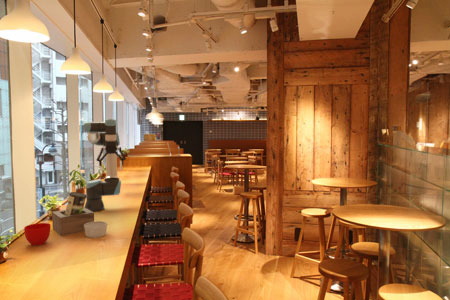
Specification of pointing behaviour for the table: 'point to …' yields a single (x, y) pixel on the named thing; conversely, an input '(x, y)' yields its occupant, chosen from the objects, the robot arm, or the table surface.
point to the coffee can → (75, 203)
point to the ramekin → (95, 229)
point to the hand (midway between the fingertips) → (111, 170)
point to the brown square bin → (71, 222)
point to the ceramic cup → (37, 233)
